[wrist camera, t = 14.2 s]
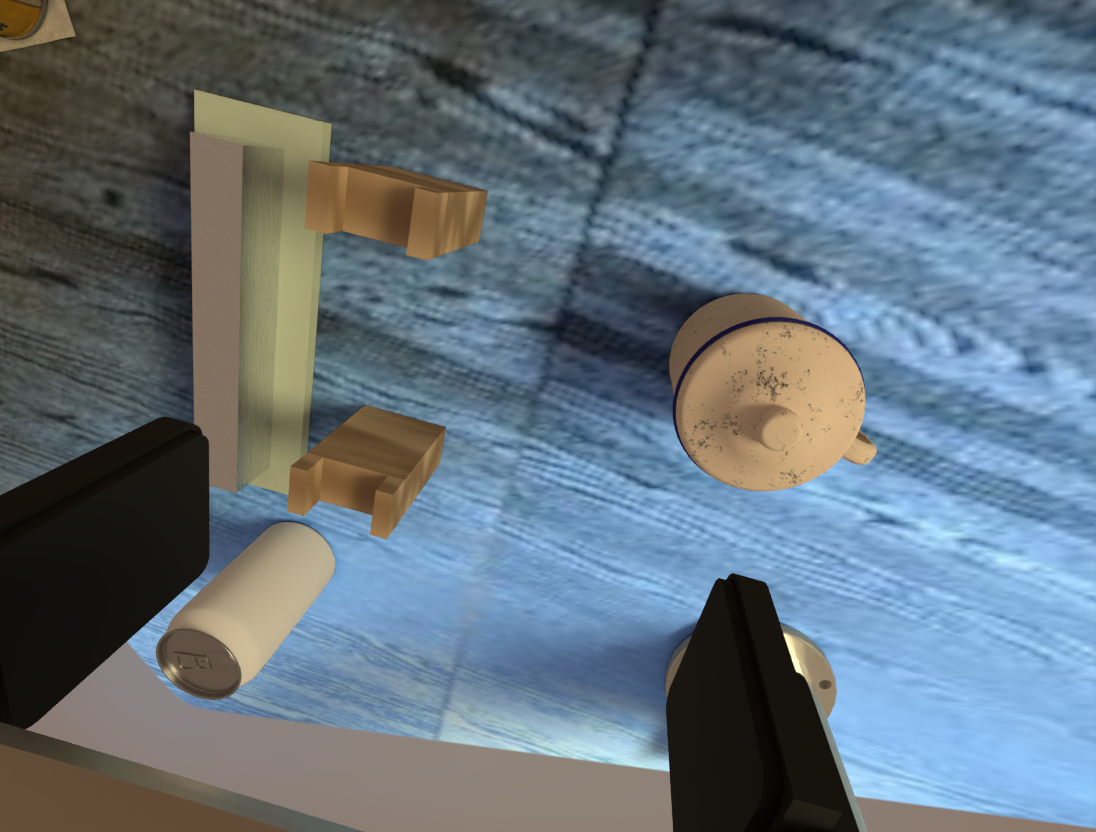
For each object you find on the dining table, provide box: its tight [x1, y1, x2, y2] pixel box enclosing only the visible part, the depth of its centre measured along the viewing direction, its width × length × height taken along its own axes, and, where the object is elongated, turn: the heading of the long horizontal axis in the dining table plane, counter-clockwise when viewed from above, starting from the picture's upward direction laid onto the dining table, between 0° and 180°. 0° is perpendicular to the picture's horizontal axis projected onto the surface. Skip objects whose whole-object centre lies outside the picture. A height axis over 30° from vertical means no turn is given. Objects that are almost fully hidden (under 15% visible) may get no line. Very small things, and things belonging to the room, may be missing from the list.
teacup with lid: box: [669, 293, 877, 491], centre depth 31 cm, size 12×9×12 cm
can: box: [156, 522, 335, 700], centre depth 42 cm, size 6×6×12 cm
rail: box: [190, 132, 284, 493], centre depth 37 cm, size 22×3×4 cm, turn 167°
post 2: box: [287, 405, 446, 539], centre depth 37 cm, size 3×6×10 cm, turn 77°
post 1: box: [305, 161, 488, 260], centre depth 31 cm, size 3×6×10 cm, turn 77°
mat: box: [194, 90, 332, 495], centre depth 40 cm, size 26×8×1 cm, turn 167°
